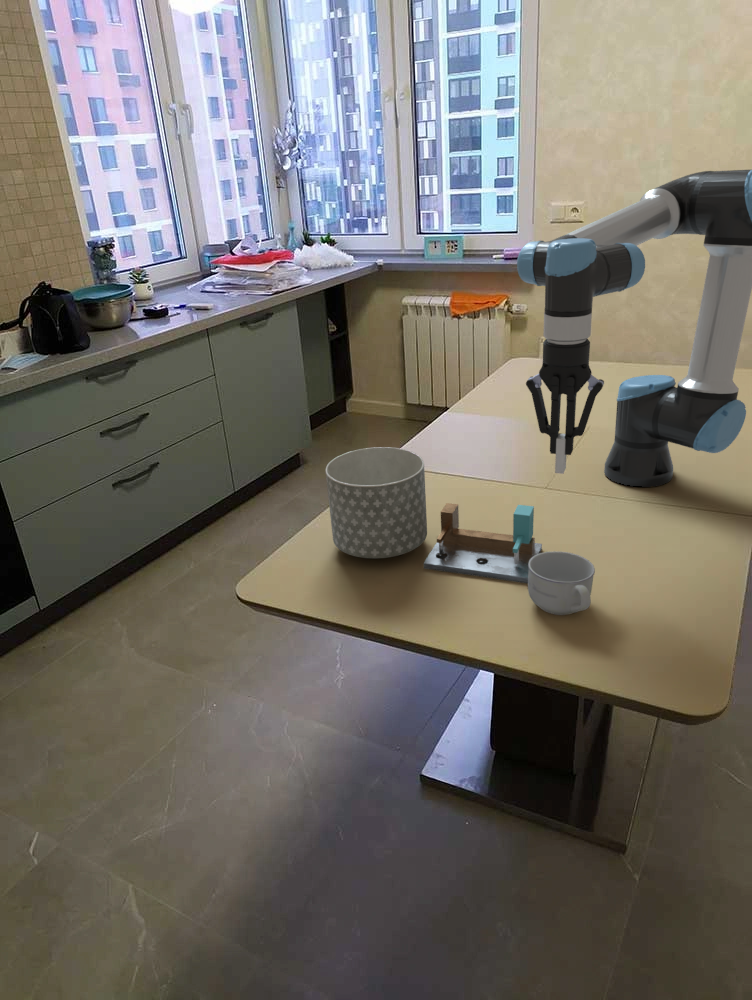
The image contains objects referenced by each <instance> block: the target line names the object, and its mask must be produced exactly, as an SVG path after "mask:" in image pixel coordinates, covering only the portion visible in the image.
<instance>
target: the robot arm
mask: <svg viewBox="0 0 752 1000" xmlns="http://www.w3.org/2000/svg"><path fill="white" fill-rule="evenodd" d="M687 234H688V235H698V236H699V235H700V236H704V240H703V247H704V248H705V249H706V251H707V252H708V254H709V258H708V264H707V269H706V273H705V274H706V275H705V279H704V284H703V290H702V295H701V300H700V305H699V306H700V307H699V311H698V317H697V320H696V321H697V323H696V329H695V332H694V333H695V334H694V338H693V344H692V348H691V349H692V350H691V355H690V359H689V366H688V371H687V374H686V376H685V377H683V378H682V379H681V380H679V381H678V383H677V382H676V380H675V378H674V377H673V376H670V375H667V374H666V375H665V374H651V375H650V374H648V375H640V376H635V377H634V376H633V377H630V378H628V379H626V380H624V381H622V382H621V383H620V384H619V387H618V394H617V398H616V411H615V412H616V415H615V428H614V429H615V430H614V442H613V444H612V446H611V449H610V451H609V453H608V455H607V458H606V460H605V462H604V469H603V470H604V471H603V472H604V473H605V474H604V476H605V475H606V476H607V477H608V478H609V479H608V478H607V477H606V476H605V477H606V478H607V479H608V480H610V479H611V480H610V481H612V482H614V481H615V482H614V483H616V482H617V483H616V484H619V483H621V484H620V485H622V484H624V486H627V485H630V486H629V487H633V486H642V487H641V488H652V487H651V486H654V487H659V486H663V485H665V483H666V484H668V483H669V482H670V481H671V480H672V479H673V476H674V475H673V474H674V465H673V464H674V463H673V461H672V457H671V452H670V449H669V443H672V444H675V445H678V446H683V447H685V448H691V449H693V450H694V451H697V452H700V451H701V452H705V453H710V454H717V453H720V452H723V451H724V450H726V449H727V448H729V446H731V444H733V442H734V441H735V440H736V439H737V438H738V436H739V434H740V432H741V431H742V428H743V425H744V423H745V421H746V416H747V410H746V404H745V403H744V402H743V401H741V400H740V399H738V395H739V387H738V385H736V383H735V382H734V376H735V375H734V374H735V369H736V364H737V359H738V356H739V351H740V346H741V342H742V335H743V332H744V327H745V322H746V317H747V313H748V308H749V303H750V298H751V294H752V169H736V170H735V169H734V170H716V171H715V170H705V171H699V172H694V173H691V174H686V175H684V176H682V177H679V178H676V179H674V180H670V181H669V182H666V183H663V184H661V185H659V186H657V187H655V188H653V189H650V190H649V191H647V192H646V193H644V194H643V195H642V196H641V198H640V200H639V201H637V202H635V203H632V204H629V205H628V206H626V207H623V208H621V209H619V210H617V211H615V212H612V213H610V214H607V215H606V216H603V217H602V218H598V219H597V220H595V221H593V222H591V223H588V224H585V225H584V226H581V227H579V228H577V229H575V230H573V231H571V232H568V233H566V234H564V235H562V236H559V237H556V238H554V239H551V240H547V241H544V240H538V241H536V240H535V241H529V242H526V244H525V245H523V247H522V248H521V249H520V251H519V253H518V256H517V260H516V266H517V273H518V276H519V278H520V279H521V281H523V282H524V283H527V284H531V285H536V286H537V287H545V288H544V291H545V292H544V312H543V337H544V339H545V340H544V341H543V343H542V364H541V367H540V370H539V371H538V373H537V374H535V375H533V376H529V378H528V379H527V380H526V382H525V385H526V387H527V389H528V391H529V392H530V393H531V396H532V402H533V405H534V411H535V415H536V420H537V425H538V429H539V433H541V434H546V435H548V436H549V439H550V440H549V452H550V454H552V455H553V454H554V455H555V463H554V469H555V470H554V473H555V474H562V475H563V474H564V473H565V470H566V468H567V456H571V455H572V454H573V450H574V439H575V437H581V436H583V434H584V433H585V430H586V427H587V424H588V422H589V418H590V415H591V412H592V409H593V406H594V403H595V399H596V396H598V394H599V393H600V392H601V390H602V389H603V387H604V385H605V381H604V380H603V379H601V378H600V379H598V378H597V377H596V376H594V375H593V373H592V370H591V367H590V352H591V351H590V350H591V348H590V347H591V341H590V339H589V338H590V337H591V333H592V318H593V316H592V315H593V300H594V297H599V296H602V295H607V294H611V293H616V292H619V293H620V292H622V291H625V290H627V289H629V288H632V287H634V286H636V285H637V284H639V282H640V281H641V279H642V278H643V277H644V276H643V275H644V273H645V271H646V258H645V254H644V253H643V251H642V250H641V248H640V247H639V246H640V245H641V244H643V243H646V242H647V241H650V240H651V239H654V240H655V239H656V240H663V239H666V238H667V237H670V236H672V235H687ZM542 382H543V383H544V385H545V386H546V388H547V390H549V392H550V400H551V401H550V402H551V403H550V405H551V406H550V424H549V419H548V414H547V413H548V412H547V410H546V409H547V408H546V405H545V401H544V397H543V396H544V395H543V391H542V385H543V383H542ZM587 383H588V385H587V389H588V391H589V393H588V395H587V398H586V401H585V404H584V407H583V410H582V412H581V417H580V418H579V422H578V425H577V426H576V424H575V423H576V408H577V393H578V392H580V390H581V389H582V388H583V387H584V385H586V384H587ZM676 384H677V387H676ZM562 395H566V412H565V431H564V432H565V433H559V432H560V430H561V428H560V421H561V419H560V418H561V401H562V400H561V399H562Z"/></svg>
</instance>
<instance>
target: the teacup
mask: <svg viewBox="0 0 752 1000" xmlns="http://www.w3.org/2000/svg"><path fill="white" fill-rule="evenodd" d="M528 567H529V572H528V583H527V590H528V596H529V598H530V599H531V601H532V602H533V603H534V604H535V605H536V606H538V607H539V608H540V609H541V610H543V611H544V612H546V613H548V614H551V615H556V616H565V615H566V616H567V615H571V614H573V613H578V612H581V611H585V610H587V609H589V607H590V605H591V603H592V600H591V599H592V597H591V595H592V594H591V593H592V589H593V582H594V575H595V572H596V568H595V565H594V564H593V562H592V561H590V560H589V559H587V558H585V557H584V556H582V555H579V554H576V553H573V552H568V551H567V552H566V551H559V550H558V551H555V550H554V551H545V552H541V553H540V554H537V555H535V556H533V557H532V558H531V559H530V560H529V563H528Z"/></svg>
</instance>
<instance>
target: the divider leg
mask: <svg viewBox="0 0 752 1000" xmlns="http://www.w3.org/2000/svg"><path fill="white" fill-rule="evenodd" d="M534 509H535V506H532V505H525V504H517V506H516V508H515V510H514V512H513V520H512V522H513V523H512V527H513V529H512V531H513V532H512V535H513V542H516V543H515V545H514V547H513V553H514V564H519V548H520V545H521V543H524V544H529V543H530V540H531V538H533V536H534V516H535V515H534V513H535V512H534V511H535V510H534Z"/></svg>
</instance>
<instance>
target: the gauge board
mask: <svg viewBox="0 0 752 1000" xmlns="http://www.w3.org/2000/svg"><path fill="white" fill-rule="evenodd" d="M459 518H460V517H459V504H458V503H450V502H447V503H445V505H444V506H443V508H442V509H441V510H440V529H441V530H440V533H439V534H438V536H437V538H436V543H435V544H434V546H433V548H432V549H431V551H430V552H429V554H428V555H427V557H426V559H425V560H424V561H423V569H426V570H430V571H431V570H432V571H439V572H446V573H452V574H461V575H466V576H472V577H473V576H475V577H481V578H486V579H494V580H495V579H496V580H501V581H508V582H516V583H523V584H528V572H529V567H528V563H529V560H530V559H531V558H532V557H533V556H535V555H537V554H540V553H542V550H543V543H538V542H536V541H535V540H536V538H535V537H532V538H531V540H530V543H529V544H524V543H521V545H520V548H519V564H514V553H513V547H514V545H515V543H516V542H513V534H506V533H505V534H504V533H498V532H497V533H496V532H491V531H490V532H489V531H482V530H481V531H480V530H473V529H465V528H459V527H460V525H459V524H460V520H459Z"/></svg>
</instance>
